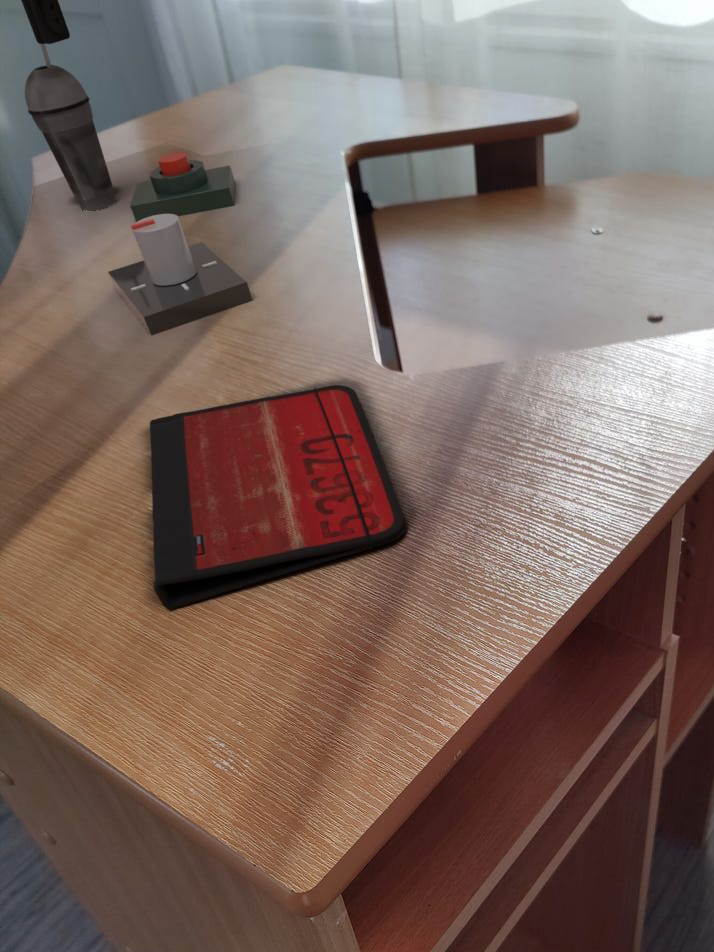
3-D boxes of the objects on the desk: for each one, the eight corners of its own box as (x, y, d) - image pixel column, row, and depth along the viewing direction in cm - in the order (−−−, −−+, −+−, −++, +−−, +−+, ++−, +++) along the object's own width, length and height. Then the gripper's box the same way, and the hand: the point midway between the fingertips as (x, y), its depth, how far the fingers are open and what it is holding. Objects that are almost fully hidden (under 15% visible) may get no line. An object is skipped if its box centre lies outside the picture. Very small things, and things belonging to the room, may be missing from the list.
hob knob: (190, 262, 86) (170, 206, 83) (202, 276, 83) (182, 218, 80) (147, 276, 85) (125, 219, 81) (157, 290, 82) (135, 232, 79)
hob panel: (119, 300, 90) (106, 270, 87) (211, 270, 92) (201, 240, 90) (156, 348, 80) (143, 315, 78) (256, 313, 83) (246, 280, 81)
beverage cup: (62, 209, 114) (-17, 26, 100) (114, 191, 117) (44, 11, 103) (83, 220, 110) (4, 30, 95) (136, 201, 112) (66, 15, 98)
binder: (150, 584, 52) (145, 417, 66) (163, 613, 53) (155, 444, 68) (411, 521, 54) (350, 374, 69) (416, 551, 56) (356, 401, 70)
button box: (137, 224, 106) (123, 189, 103) (143, 201, 112) (131, 167, 110) (234, 206, 107) (224, 170, 104) (235, 183, 113) (225, 149, 110)
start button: (161, 179, 106) (156, 164, 104) (164, 170, 108) (158, 155, 107) (191, 174, 106) (186, 158, 104) (192, 165, 108) (187, 150, 107)
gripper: (54, -209, 79) (129, 32, 92) (-49, -191, 85) (35, 33, 98) (-14, -203, 75) (75, 50, 88) (-117, -185, 81) (-19, 49, 94)
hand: (54, 40), depth 93 cm, fingers closed
